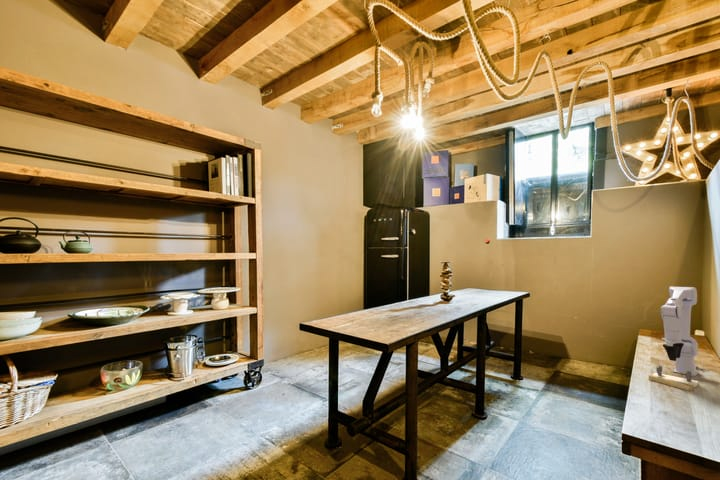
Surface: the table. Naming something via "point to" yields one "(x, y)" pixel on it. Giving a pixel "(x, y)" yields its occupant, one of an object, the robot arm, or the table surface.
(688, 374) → the hook stand
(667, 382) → the wooden bar
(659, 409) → the table surface
